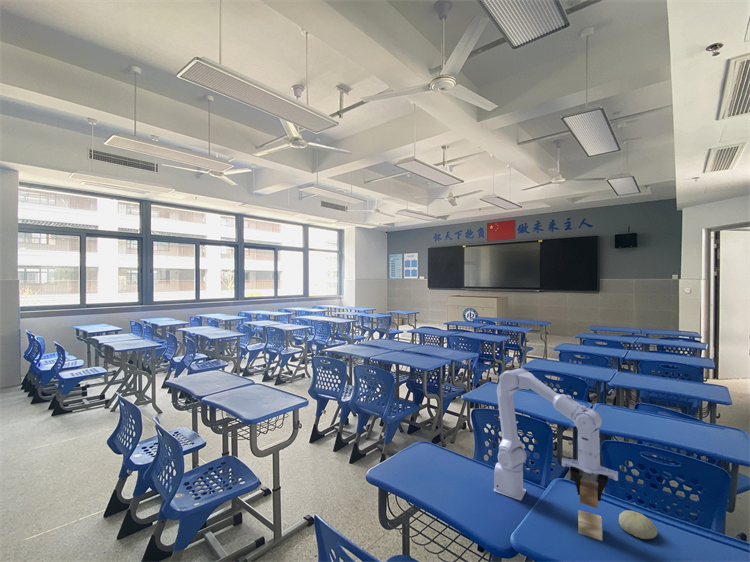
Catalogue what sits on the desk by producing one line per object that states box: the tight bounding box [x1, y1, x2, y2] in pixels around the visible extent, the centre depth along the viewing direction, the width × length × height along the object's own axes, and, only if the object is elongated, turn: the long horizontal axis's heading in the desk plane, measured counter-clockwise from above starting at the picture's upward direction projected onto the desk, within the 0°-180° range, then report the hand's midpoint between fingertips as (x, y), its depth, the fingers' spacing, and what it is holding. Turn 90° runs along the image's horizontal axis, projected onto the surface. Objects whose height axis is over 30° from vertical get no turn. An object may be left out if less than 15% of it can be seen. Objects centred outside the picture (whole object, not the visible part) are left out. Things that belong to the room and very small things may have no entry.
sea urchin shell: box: [618, 509, 658, 540], centre depth 104 cm, size 9×8×8 cm
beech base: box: [577, 509, 603, 542], centre depth 104 cm, size 6×6×4 cm
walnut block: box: [579, 479, 600, 509], centre depth 105 cm, size 4×4×5 cm
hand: (589, 496), depth 105 cm, fingers closed on walnut block, 4 cm apart
